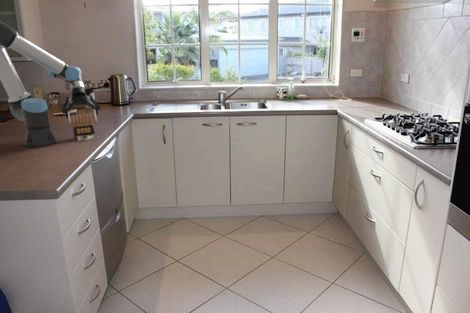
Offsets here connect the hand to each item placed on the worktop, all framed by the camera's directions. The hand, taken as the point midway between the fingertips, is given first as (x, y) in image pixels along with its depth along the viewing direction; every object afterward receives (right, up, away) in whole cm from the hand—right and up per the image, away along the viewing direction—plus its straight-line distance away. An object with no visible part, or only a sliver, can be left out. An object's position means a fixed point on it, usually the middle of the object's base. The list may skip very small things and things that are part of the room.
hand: (83, 121), depth 212 cm
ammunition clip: (-1, -8, +3) cm, 8 cm away
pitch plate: (0, -9, +3) cm, 9 cm away
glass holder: (-37, +20, +104) cm, 112 cm away
